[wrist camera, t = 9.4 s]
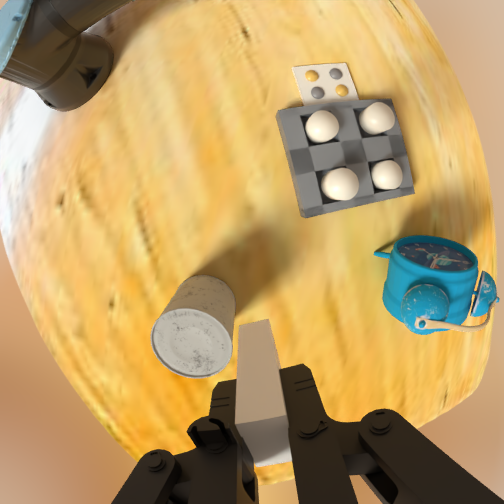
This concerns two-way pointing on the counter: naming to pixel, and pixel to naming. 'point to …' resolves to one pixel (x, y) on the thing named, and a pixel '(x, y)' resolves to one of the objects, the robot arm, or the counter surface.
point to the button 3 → (377, 118)
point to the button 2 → (340, 184)
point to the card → (324, 83)
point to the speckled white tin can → (196, 328)
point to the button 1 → (321, 127)
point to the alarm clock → (435, 285)
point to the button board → (340, 155)
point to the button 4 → (386, 175)
